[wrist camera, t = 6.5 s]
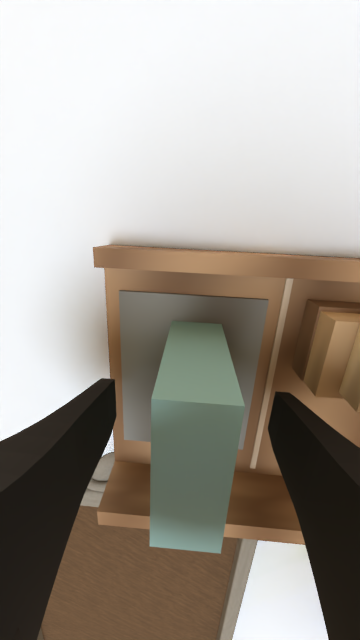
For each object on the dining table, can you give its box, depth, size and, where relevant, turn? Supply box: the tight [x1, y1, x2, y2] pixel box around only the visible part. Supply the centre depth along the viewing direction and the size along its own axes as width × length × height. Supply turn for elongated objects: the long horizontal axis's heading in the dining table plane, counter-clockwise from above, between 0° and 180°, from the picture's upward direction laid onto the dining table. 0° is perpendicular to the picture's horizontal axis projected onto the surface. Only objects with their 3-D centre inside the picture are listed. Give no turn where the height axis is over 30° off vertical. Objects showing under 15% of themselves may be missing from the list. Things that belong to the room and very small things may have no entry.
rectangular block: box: [150, 321, 245, 554], centre depth 10 cm, size 2×6×6 cm, turn 177°
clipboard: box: [37, 452, 258, 640], centre depth 21 cm, size 19×2×30 cm
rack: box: [93, 245, 360, 545], centre depth 12 cm, size 18×14×4 cm
